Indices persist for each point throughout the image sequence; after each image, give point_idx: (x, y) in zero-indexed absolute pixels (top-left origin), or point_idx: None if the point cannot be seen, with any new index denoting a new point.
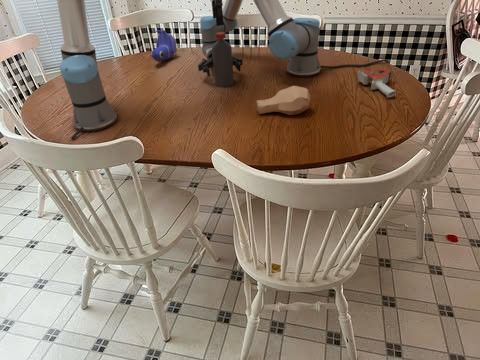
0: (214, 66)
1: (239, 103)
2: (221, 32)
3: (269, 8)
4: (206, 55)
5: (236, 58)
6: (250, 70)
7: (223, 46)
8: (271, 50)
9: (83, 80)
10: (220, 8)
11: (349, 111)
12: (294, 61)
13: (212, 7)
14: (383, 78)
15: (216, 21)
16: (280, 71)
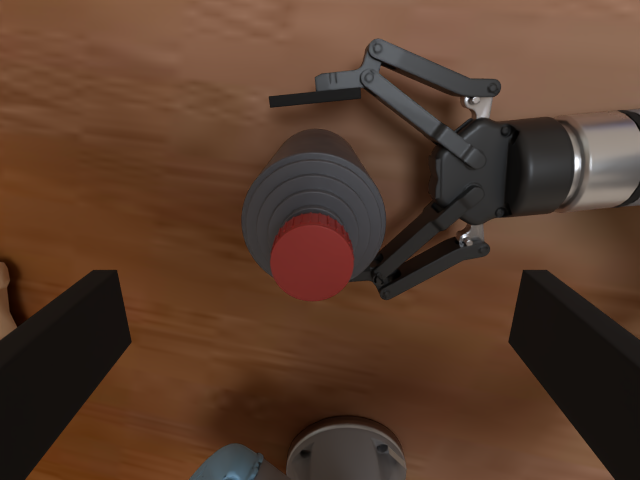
0: (292, 142)
1: (83, 204)
2: (333, 276)
3: None
4: (576, 115)
5: (414, 276)
6: (434, 302)
7: (257, 239)
8: (228, 455)
9: None
10: None
11: None
12: (322, 472)
13: (619, 357)
14: None
15: (63, 295)
16: (375, 398)
